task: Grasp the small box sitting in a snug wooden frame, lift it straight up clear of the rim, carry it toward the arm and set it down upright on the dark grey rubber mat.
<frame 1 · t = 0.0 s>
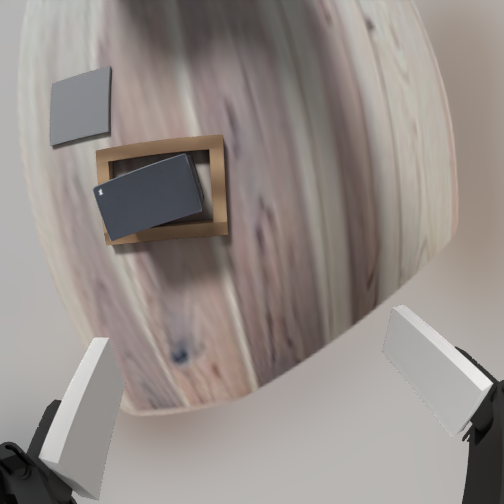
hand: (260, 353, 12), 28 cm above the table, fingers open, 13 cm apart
mat: (79, 106, 29), on the table
small box: (161, 189, 36), resting in wooden frame
wooden frame: (161, 189, 35), on the table
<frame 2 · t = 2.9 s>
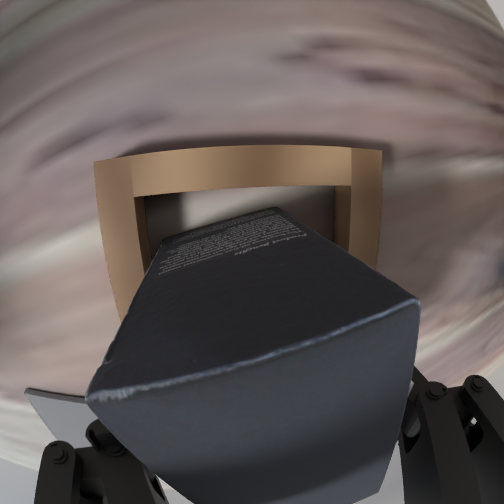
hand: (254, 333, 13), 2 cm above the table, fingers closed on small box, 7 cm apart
mat: (94, 433, 17), on the table
small box: (247, 309, 15), resting in wooden frame, touching gripper
wooden frame: (248, 311, 15), on the table
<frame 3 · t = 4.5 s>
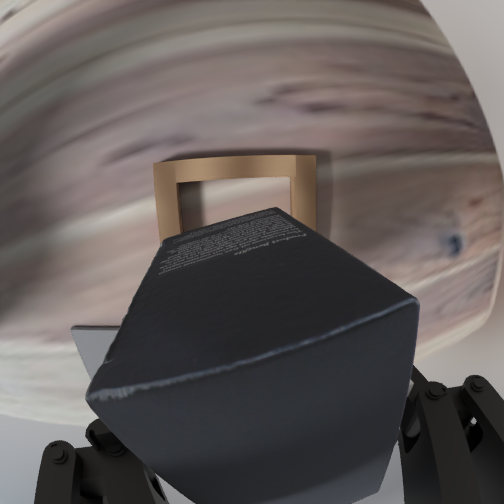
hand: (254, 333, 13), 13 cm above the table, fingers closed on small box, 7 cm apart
mat: (122, 363, 27), on the table
small box: (247, 309, 15), point 10 cm above the table, touching gripper
wooden frame: (238, 253, 25), on the table
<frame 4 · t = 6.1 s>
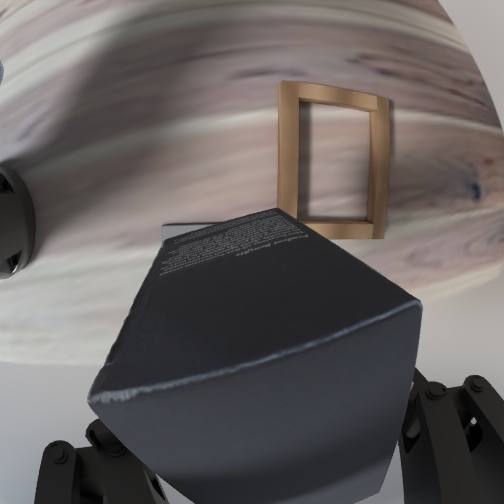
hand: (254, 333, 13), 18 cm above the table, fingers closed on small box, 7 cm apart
mat: (209, 267, 31), on the table
small box: (248, 310, 15), point 16 cm above the table, touching gripper
wooden frame: (334, 162, 29), on the table
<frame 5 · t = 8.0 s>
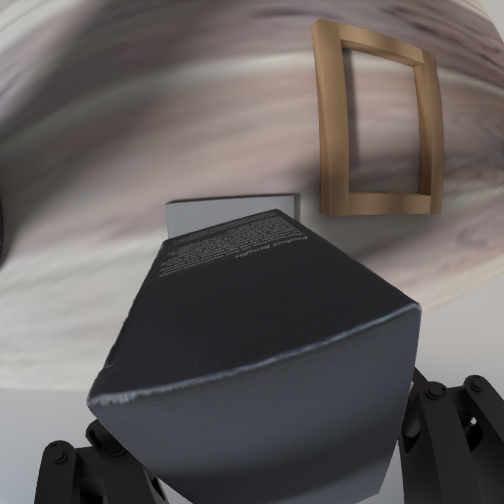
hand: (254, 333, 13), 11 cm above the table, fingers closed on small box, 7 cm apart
mat: (233, 259, 23), on the table
small box: (248, 311, 15), point 8 cm above the table, touching gripper
wooden frame: (383, 120, 21), on the table
when the fingers open (5 cm above the table, at t = 9.5 s): small box drops 2 cm, resting on mat.
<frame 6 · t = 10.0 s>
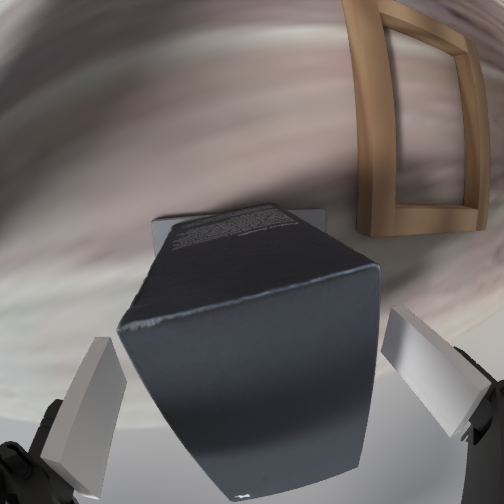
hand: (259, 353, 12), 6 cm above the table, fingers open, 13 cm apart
mat: (243, 292, 17), on the table
small box: (243, 294, 17), resting on mat
wooden frame: (427, 115, 15), on the table
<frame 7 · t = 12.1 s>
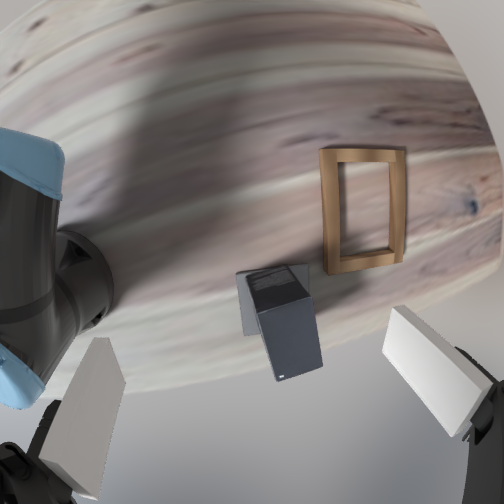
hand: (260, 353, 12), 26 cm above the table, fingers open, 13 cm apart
mat: (274, 300, 40), on the table
small box: (274, 301, 39), resting on mat
wooden frame: (363, 208, 37), on the table
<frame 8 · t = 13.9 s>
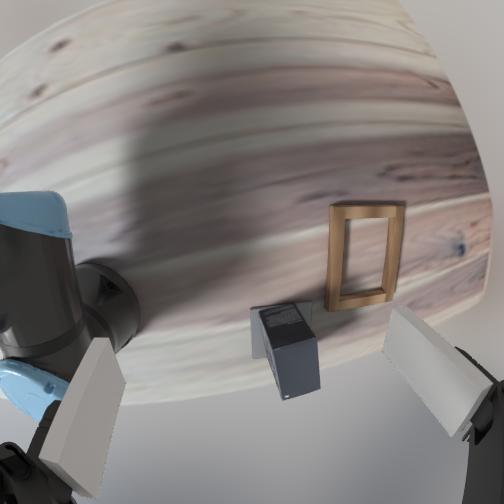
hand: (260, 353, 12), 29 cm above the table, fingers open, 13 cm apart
mat: (280, 330, 45), on the table
small box: (281, 331, 45), resting on mat
wooden frame: (363, 256, 43), on the table
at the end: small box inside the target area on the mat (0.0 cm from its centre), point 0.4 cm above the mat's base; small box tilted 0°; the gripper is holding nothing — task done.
